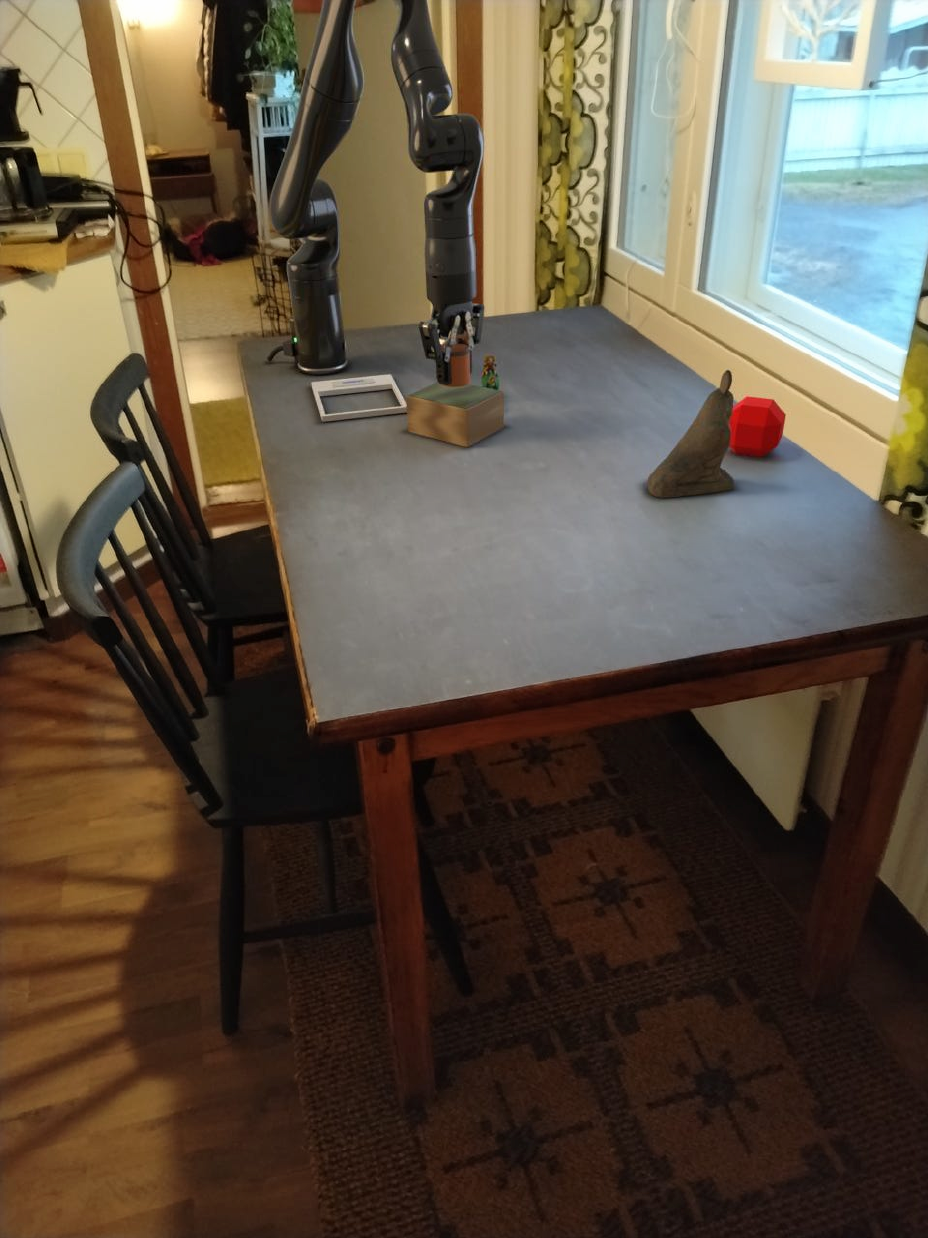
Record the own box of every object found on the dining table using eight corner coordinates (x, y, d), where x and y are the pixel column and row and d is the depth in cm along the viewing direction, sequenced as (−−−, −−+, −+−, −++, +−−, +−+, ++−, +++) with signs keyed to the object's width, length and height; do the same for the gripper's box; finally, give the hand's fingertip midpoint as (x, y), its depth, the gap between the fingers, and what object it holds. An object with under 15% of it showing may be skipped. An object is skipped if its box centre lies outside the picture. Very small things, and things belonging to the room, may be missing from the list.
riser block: (408, 432, 155) (405, 394, 152) (445, 413, 162) (444, 377, 159) (467, 447, 149) (466, 409, 146) (504, 427, 156) (503, 390, 152)
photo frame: (390, 373, 177) (408, 405, 162) (390, 379, 177) (408, 412, 162) (311, 381, 174) (321, 415, 159) (311, 387, 175) (322, 421, 160)
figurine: (495, 388, 172) (495, 343, 167) (503, 412, 162) (502, 364, 157) (478, 389, 171) (477, 344, 167) (485, 413, 161) (484, 365, 157)
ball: (782, 444, 146) (790, 396, 142) (773, 464, 140) (781, 414, 136) (729, 437, 149) (735, 390, 145) (718, 456, 143) (724, 407, 139)
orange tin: (433, 383, 151) (431, 349, 148) (452, 374, 154) (450, 341, 151) (458, 389, 148) (457, 354, 146) (476, 380, 152) (475, 346, 149)
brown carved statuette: (717, 492, 139) (758, 370, 130) (731, 508, 134) (775, 382, 125) (641, 483, 136) (677, 358, 127) (652, 498, 132) (691, 370, 123)
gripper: (459, 254, 149) (462, 362, 158) (400, 273, 139) (407, 387, 148) (498, 259, 145) (500, 370, 154) (441, 279, 135) (446, 396, 144)
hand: (454, 378), depth 151 cm, fingers closed on orange tin, 4 cm apart
